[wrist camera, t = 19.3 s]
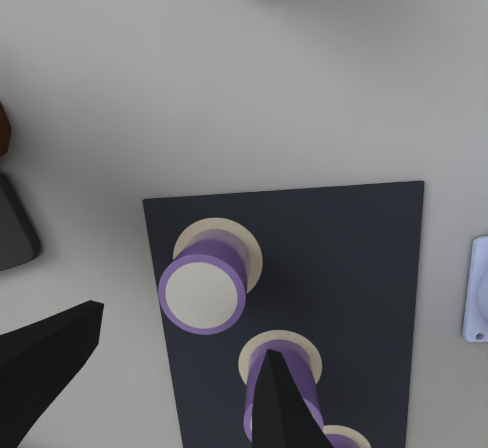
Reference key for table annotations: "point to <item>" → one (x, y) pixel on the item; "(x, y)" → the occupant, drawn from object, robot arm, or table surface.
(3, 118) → the ice cream bowl
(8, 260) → the phone
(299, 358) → the purple white-topped cylinder
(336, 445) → the purple canister
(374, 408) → the mat
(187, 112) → the table surface
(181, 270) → the purple cylinder white cap
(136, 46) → the table surface
